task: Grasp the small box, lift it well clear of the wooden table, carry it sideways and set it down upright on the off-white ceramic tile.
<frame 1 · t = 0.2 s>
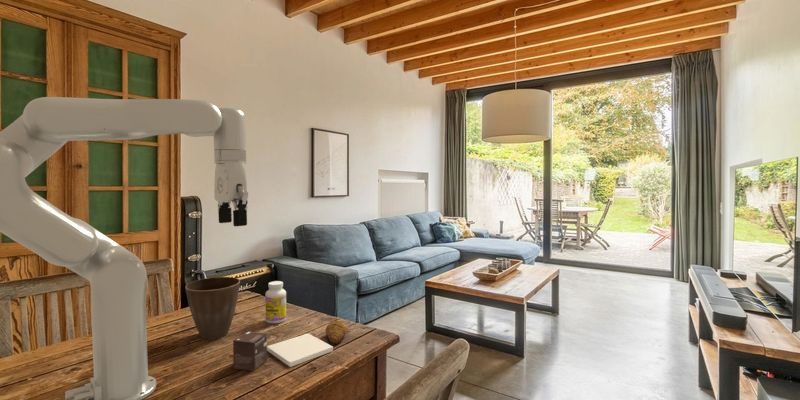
hand: (232, 224, 98), 36 cm above the table, tool pointing down, fingers open, 9 cm apart
supplement bottle: (276, 321, 128), on the table
croissant: (336, 337, 115), on the table
tile: (299, 350, 105), on the table
plant pot: (214, 335, 116), on the table
box: (250, 365, 98), on the table
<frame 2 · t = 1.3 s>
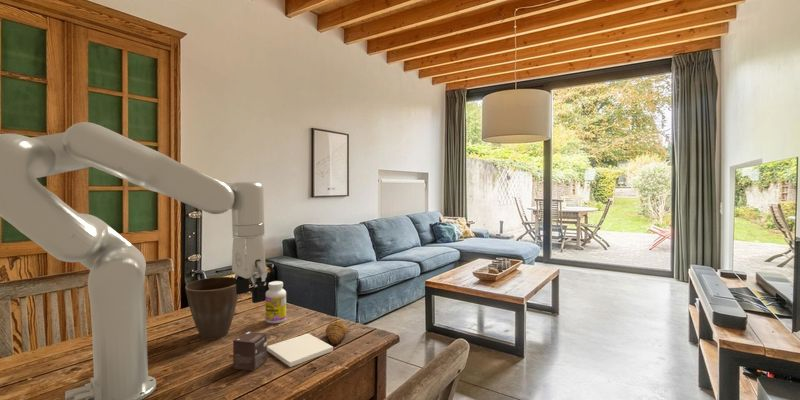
hand: (250, 297, 97), 17 cm above the table, tool pointing down, fingers open, 9 cm apart
nothing on the table moved.
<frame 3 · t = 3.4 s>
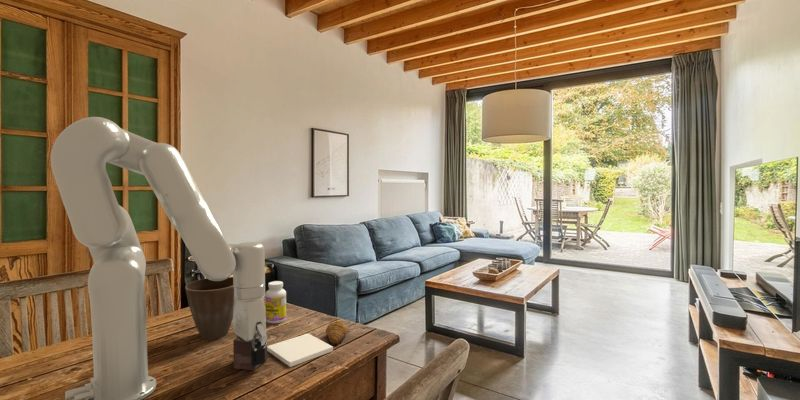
hand: (250, 358, 97), 2 cm above the table, tool pointing down, fingers closed on box, 8 cm apart
box: (250, 365, 98), on the table, touching gripper
everything else where it was.
when the fingers open (4 cm above the table, at t = 10.9 s): box drops 2 cm, resting on tile.
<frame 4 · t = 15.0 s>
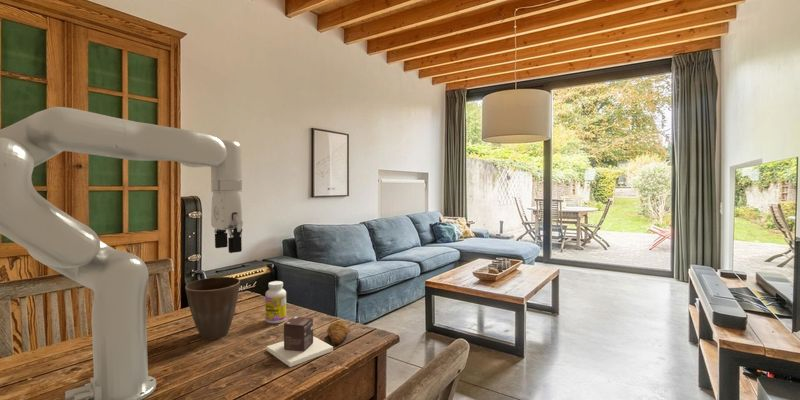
hand: (228, 249, 103), 28 cm above the table, tool pointing down, fingers open, 9 cm apart
box: (298, 347, 105), point 1 cm above the table, touching tile
everything else where it was.
at the end: box inside the target area on the tile (0.3 cm from its centre), point 1.0 cm above the tile's base; box tilted 0°; the gripper is holding nothing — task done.
